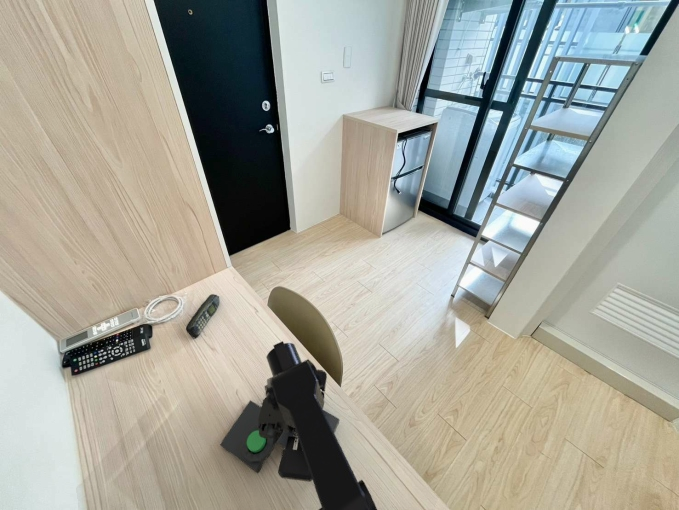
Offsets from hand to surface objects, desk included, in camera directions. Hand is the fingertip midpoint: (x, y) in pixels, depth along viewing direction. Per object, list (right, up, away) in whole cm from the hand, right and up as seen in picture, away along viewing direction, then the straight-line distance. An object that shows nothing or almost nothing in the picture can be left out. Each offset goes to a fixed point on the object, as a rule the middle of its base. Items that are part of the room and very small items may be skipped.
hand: (308, 429), depth 59 cm
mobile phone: (-34, +19, +25) cm, 46 cm away
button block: (-13, -3, +2) cm, 13 cm away
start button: (-11, -2, -2) cm, 11 cm away
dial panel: (0, -3, +2) cm, 4 cm away
